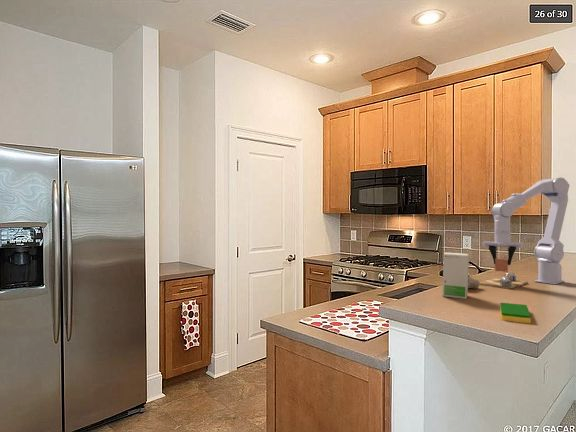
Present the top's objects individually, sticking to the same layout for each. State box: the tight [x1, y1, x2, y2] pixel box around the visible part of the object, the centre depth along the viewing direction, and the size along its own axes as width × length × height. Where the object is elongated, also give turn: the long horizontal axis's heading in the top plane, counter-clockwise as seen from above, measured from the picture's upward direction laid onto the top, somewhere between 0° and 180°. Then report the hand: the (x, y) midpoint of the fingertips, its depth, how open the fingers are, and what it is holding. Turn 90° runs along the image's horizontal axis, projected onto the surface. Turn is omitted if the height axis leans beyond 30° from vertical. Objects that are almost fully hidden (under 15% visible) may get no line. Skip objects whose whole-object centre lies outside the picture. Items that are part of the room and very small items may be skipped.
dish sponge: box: [499, 302, 532, 324], centre depth 113 cm, size 7×14×2 cm, turn 152°
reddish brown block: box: [494, 257, 510, 273], centre depth 158 cm, size 4×4×5 cm
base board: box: [479, 277, 529, 290], centre depth 159 cm, size 17×12×1 cm
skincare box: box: [442, 251, 470, 300], centre depth 138 cm, size 8×7×16 cm
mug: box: [468, 274, 481, 289], centre depth 151 cm, size 8×10×10 cm
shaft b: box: [500, 275, 511, 286], centre depth 152 cm, size 4×3×3 cm
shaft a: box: [503, 271, 517, 281], centre depth 162 cm, size 5×3×3 cm
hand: (502, 264), depth 158 cm, fingers closed on reddish brown block, 4 cm apart
